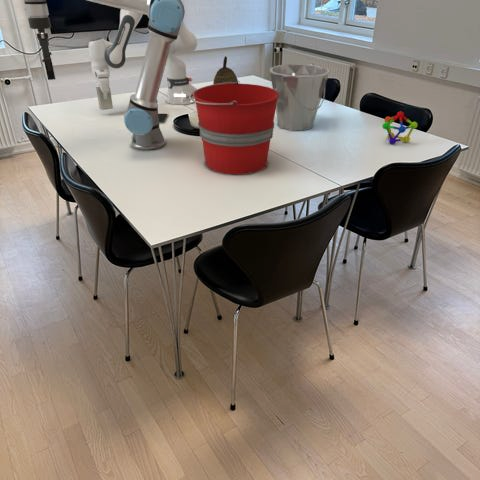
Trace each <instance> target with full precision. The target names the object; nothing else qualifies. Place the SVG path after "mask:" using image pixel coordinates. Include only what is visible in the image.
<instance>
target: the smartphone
mask: <svg viewBox="0 0 480 480" xmlns="http://www.w3.org/2000/svg"><path fill="white" fill-rule="evenodd" d="M168 116H169V114H168V113H158V117H159V124H164V123H165V121H166V120H167V117H168Z"/></svg>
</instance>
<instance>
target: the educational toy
mask: <svg viewBox="0 0 480 480" xmlns="http://www.w3.org/2000/svg"><path fill="white" fill-rule="evenodd" d="M397 119H399V124H400V125H399V127H398V126H393V125H391V124H392V123H394V122H395V121H396V120H397ZM403 120H404V121H405V122H407V123H408V124H409V125H407V126H404V123H403ZM417 127H418V122H417V121H411V120H410V119H409V118H408V117H406V116H405V113H404V112H403V111H401V110H400V111H398V112H397V114H396V115H394V116H391V117H390V116H386V117H385V118H384V122H383V123H382V129H383V130H386V132H387V138H388V142H389V145H395V144H396V143H397V142H402V141H403V142H404V143H409V142H410V140H411V138H410V136H411V134H412V132H413V131H414V130H415V129H417ZM392 129H393V130H397V131H398V132H396V134H395V133H394V132H392ZM408 129H409V131H408V133H407V134H406V135H404V136H401V134H403V133H405V132H406V130H408ZM399 135H400V136H399Z"/></svg>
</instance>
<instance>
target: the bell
mask: <svg viewBox="0 0 480 480" xmlns="http://www.w3.org/2000/svg"><path fill="white" fill-rule="evenodd" d="M227 63H228V57H227V56H224V58H223V63H222V67H221V68H219V69H218V70H217V71H216V73H215V75H214V78H213V81H212V83H213V84H219V83H225V82H236V81H237V84H239V80H238V79H239V78H238V77H237V75H236V73H235V72H234V70H232V69H231V68H230V67H227ZM213 84H212V85H213ZM227 84H234V83H227Z"/></svg>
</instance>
